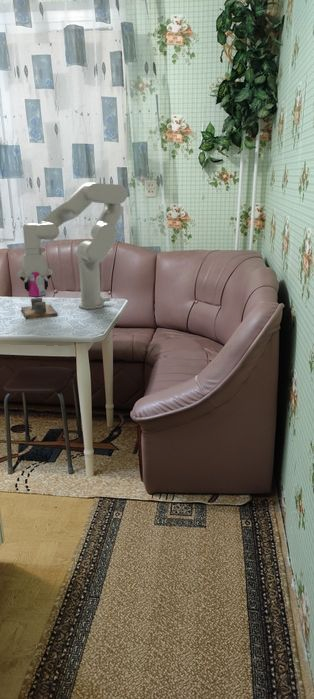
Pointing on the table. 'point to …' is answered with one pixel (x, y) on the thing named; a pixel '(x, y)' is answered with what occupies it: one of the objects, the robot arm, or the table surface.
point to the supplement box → (36, 285)
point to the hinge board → (38, 309)
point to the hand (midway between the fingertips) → (36, 289)
